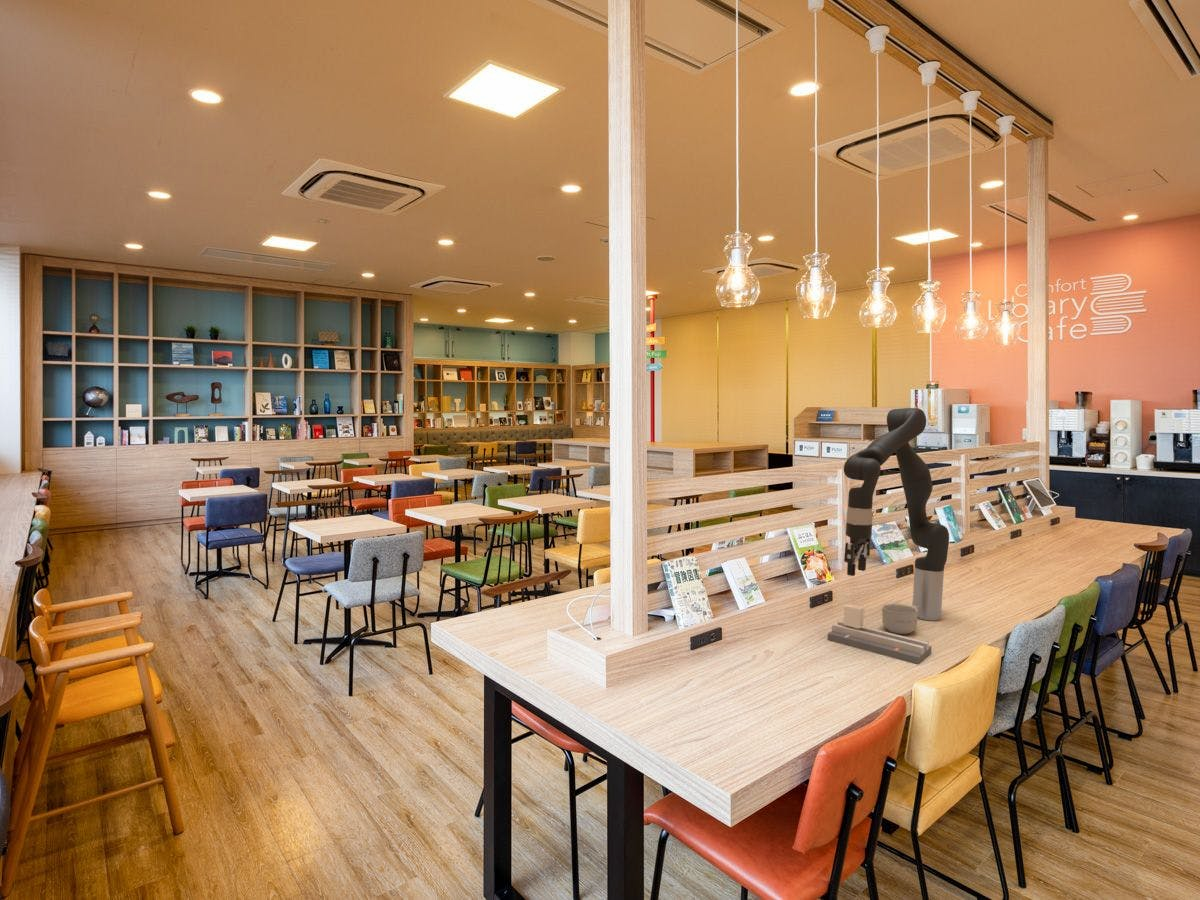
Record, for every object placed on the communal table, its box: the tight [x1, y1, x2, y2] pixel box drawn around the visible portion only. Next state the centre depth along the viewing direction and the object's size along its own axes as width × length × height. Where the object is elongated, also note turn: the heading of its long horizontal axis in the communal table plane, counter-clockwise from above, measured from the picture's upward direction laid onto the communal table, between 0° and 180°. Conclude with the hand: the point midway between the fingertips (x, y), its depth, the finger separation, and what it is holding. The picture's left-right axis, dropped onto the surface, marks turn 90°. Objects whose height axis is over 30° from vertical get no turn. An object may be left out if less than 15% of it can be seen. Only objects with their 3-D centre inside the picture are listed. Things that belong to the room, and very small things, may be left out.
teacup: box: [881, 603, 919, 635], centre depth 221 cm, size 14×11×8 cm
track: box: [827, 620, 932, 665], centre depth 207 cm, size 12×27×4 cm, turn 47°
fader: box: [843, 603, 865, 630], centre depth 212 cm, size 3×5×8 cm, turn 47°
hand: (856, 572), depth 210 cm, fingers open, 8 cm apart
